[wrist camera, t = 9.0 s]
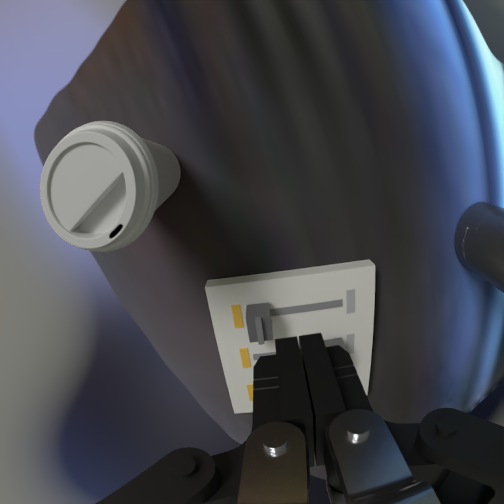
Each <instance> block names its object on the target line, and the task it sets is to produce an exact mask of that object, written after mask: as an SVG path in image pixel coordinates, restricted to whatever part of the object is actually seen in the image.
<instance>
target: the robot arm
mask: <svg viewBox="0 0 504 504" xmlns="http://www.w3.org/2000/svg"><path fill="white" fill-rule="evenodd" d="M455 249H456V254H457V256H458V259H459V260H460V261H461V263H462V264H463V265H465V266H466V267H467V268H469V269H470V270H472V271H473V272H475V273H476V274H478V275H479V276H481V277H482V278H484V279H485V280H486V281H488V282H489V283H491V284H492V285H494V286H495V287H497V288H498V289H499V290H501V291H502V292H504V208H501V207H498V206H495V205H492V204H489V203H485V202H479V203H476V204H474V205H472V206H471V207H469V208H468V209H467V210H466V212H465V213H464V214H463V216H462V217H461V219H460V221H459V224H458V226H457V230H456V235H455ZM275 348H276V354H275V355H267V356H260V357H259V359H258V360H257V362H256V364H255V365H254V367H253V426H252V431H251V433H250V435H249V436H248V438H247V440H246V441H245V442H244V443H243V444H242V445H240V446H239V447H237V448H235V449H233V450H230V451H227V452H224V453H220V454H217V455H213V456H210V455H209V454H208V453H207V452H205V451H203V450H201V449H198V448H190V447H187V448H181V449H177V450H174V451H172V452H170V453H169V454H167V455H165V456H164V457H163V458H161V459H160V460H159V461H158V462H156V463H155V464H154V465H152V466H151V467H149V468H148V469H147V470H145V471H144V472H142V473H141V474H140V475H138V476H137V477H135V478H134V479H132V480H131V481H129V482H128V483H127V484H125V485H124V486H122V487H121V488H119V489H118V490H116V491H115V492H113V493H112V494H110V495H109V496H107V497H105V498H104V499H103V500H101V501H99V502H98V503H96V504H308V489H309V486H310V469H309V467H313V466H314V454H315V460H316V466H319V465H325V469H326V474H327V484H326V485H327V490H328V494H329V497H330V501H331V504H504V427H503V426H500V425H497V424H495V423H491V422H489V421H486V420H483V419H480V418H478V417H475V416H472V415H470V414H467V413H464V412H462V411H459V410H456V409H452V408H440V409H436V410H434V411H432V412H430V413H429V414H427V415H426V416H425V417H424V418H423V420H422V422H421V423H413V424H396V423H391V422H388V421H385V420H383V418H382V417H381V416H380V415H378V414H377V413H375V412H374V411H373V410H372V408H371V406H370V403H369V401H368V398H367V396H366V393H365V391H364V388H363V386H362V383H361V381H360V378H359V376H358V375H357V371H356V368H355V366H354V364H353V361H352V359H351V356H350V354H349V353H348V352H347V351H346V350H345V349H343V348H342V347H341V346H340V345H335V346H330V347H326V346H325V343H324V340H323V337H322V334H321V333H315V334H308V335H301V336H299V343H298V338H297V336H295V337H287V338H280V339H275Z"/></svg>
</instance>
